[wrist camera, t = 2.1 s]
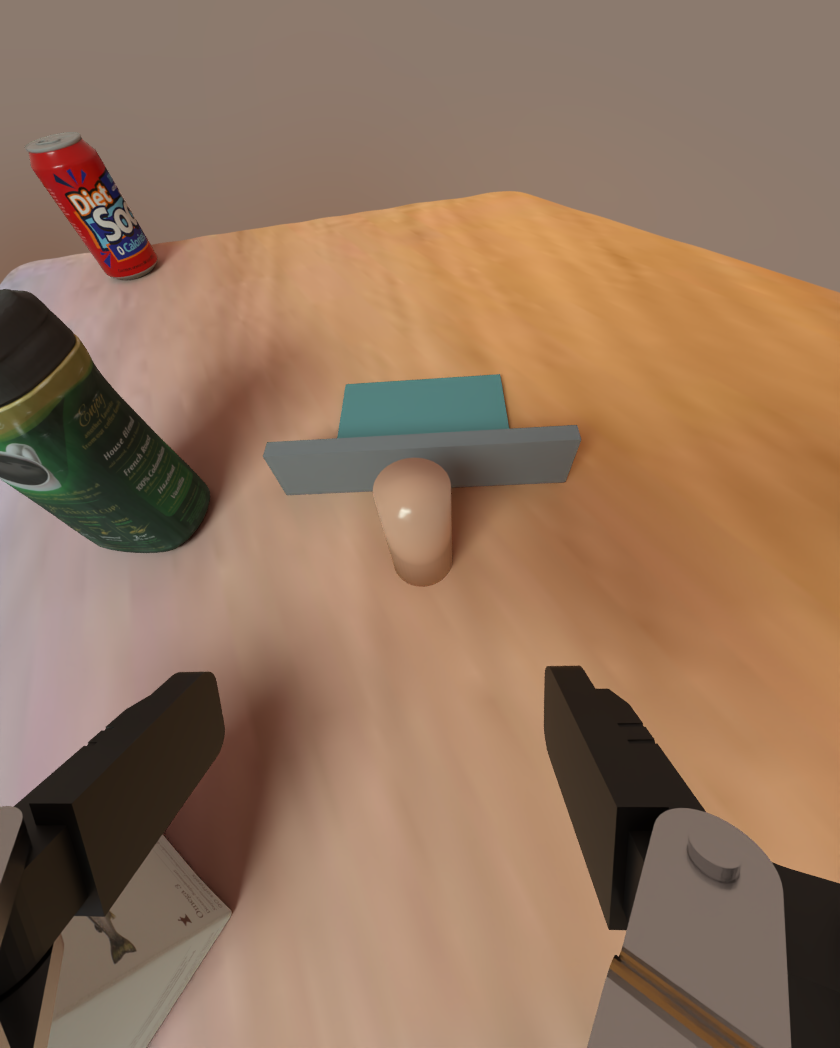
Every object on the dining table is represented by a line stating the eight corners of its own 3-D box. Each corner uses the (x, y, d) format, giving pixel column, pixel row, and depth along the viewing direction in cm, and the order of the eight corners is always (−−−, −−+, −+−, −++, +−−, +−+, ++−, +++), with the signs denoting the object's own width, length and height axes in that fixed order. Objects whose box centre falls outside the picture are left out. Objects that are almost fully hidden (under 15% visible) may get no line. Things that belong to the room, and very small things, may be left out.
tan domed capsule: (445, 529, 31) (442, 451, 24) (458, 580, 29) (458, 511, 21) (390, 539, 31) (369, 465, 24) (398, 591, 29) (377, 527, 21)
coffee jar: (226, 483, 36) (47, 259, 20) (189, 561, 32) (-73, 353, 16) (131, 479, 37) (-107, 264, 21) (84, 552, 33) (-256, 353, 17)
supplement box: (239, 909, 20) (-8, 1066, 9) (113, 1103, 17) (-462, 1658, 6) (153, 811, 23) (-116, 846, 12) (30, 963, 20) (-475, 1191, 9)
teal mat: (499, 379, 40) (499, 374, 40) (512, 459, 35) (513, 455, 34) (347, 389, 41) (345, 384, 41) (334, 468, 36) (333, 464, 35)
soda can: (118, 262, 63) (33, 134, 50) (166, 255, 63) (93, 126, 50) (102, 287, 59) (6, 154, 46) (154, 279, 59) (71, 144, 46)
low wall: (561, 468, 34) (576, 425, 29) (565, 482, 33) (581, 439, 29) (289, 481, 35) (267, 442, 31) (286, 495, 34) (263, 456, 30)
